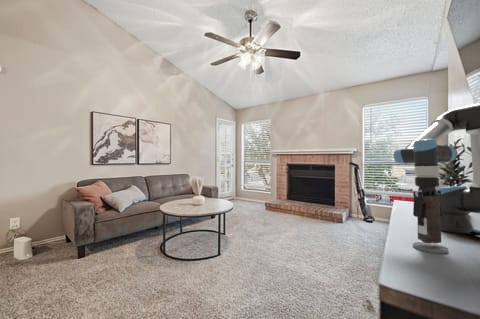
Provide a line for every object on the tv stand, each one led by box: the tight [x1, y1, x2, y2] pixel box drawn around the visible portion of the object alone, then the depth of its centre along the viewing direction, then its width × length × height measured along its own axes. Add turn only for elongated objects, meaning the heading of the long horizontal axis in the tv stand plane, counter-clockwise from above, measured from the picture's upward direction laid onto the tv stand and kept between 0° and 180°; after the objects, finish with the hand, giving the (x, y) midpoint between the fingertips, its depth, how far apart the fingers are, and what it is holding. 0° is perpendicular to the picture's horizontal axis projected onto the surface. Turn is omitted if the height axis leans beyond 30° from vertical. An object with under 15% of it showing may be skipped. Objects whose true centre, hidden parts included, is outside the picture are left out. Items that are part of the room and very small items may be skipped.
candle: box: [417, 194, 442, 244], centre depth 90 cm, size 8×7×20 cm
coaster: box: [412, 241, 449, 255], centre depth 89 cm, size 11×11×1 cm
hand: (429, 232), depth 90 cm, fingers closed on candle, 7 cm apart
